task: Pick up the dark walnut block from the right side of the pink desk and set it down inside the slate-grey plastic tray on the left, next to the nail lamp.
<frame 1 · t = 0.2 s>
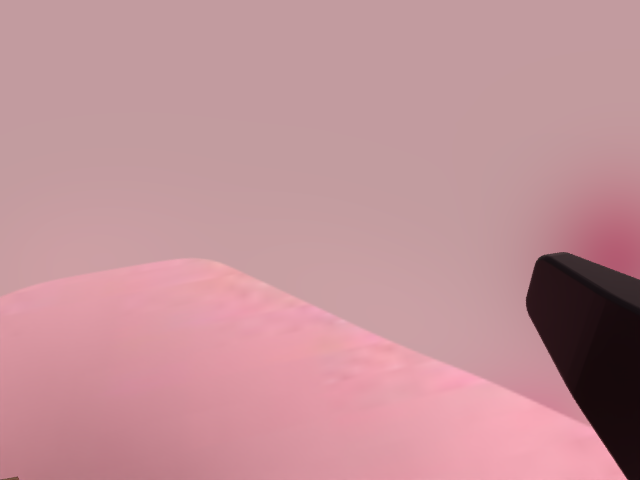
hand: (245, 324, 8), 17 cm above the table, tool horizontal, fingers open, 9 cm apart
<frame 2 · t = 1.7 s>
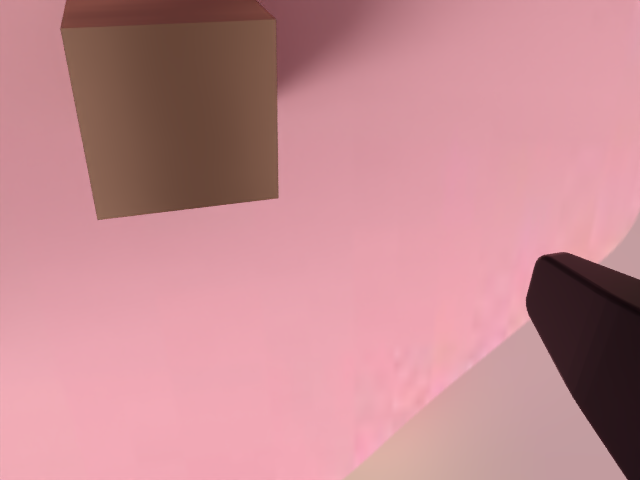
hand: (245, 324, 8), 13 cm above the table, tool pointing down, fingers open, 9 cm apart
walnut block: (161, 55, 19), on the table
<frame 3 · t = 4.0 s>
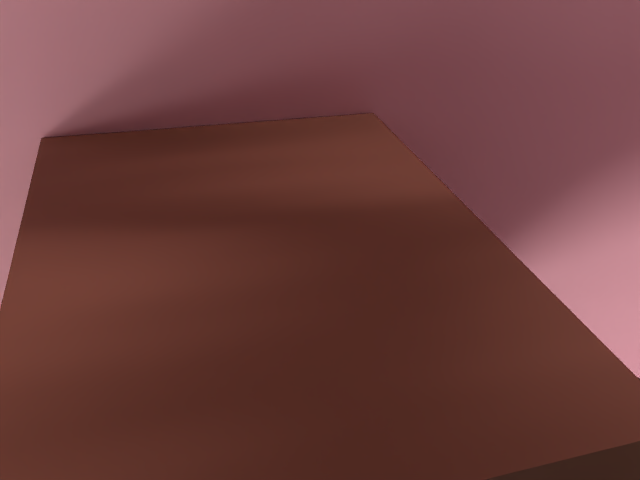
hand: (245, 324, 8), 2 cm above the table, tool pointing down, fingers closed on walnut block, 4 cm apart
walnut block: (226, 261, 10), on the table, touching gripper
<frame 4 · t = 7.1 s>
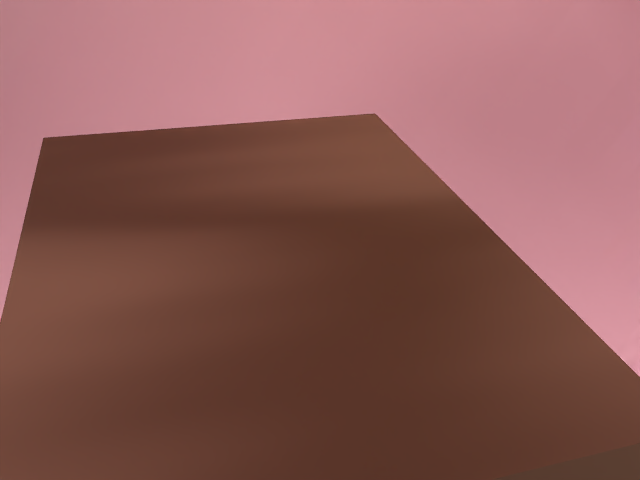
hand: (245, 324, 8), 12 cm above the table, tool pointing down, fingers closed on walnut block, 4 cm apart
walnut block: (228, 261, 10), point 10 cm above the table, touching gripper
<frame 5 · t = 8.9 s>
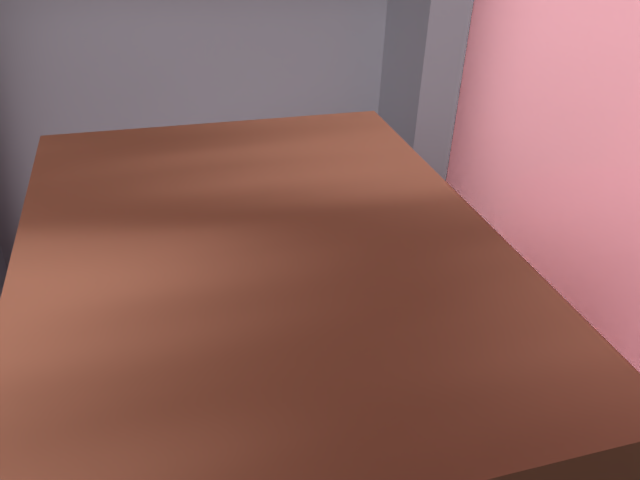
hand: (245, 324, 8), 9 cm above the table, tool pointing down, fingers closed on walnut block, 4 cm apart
tray: (187, 104, 16), on the table
walnut block: (227, 259, 9), point 7 cm above the table, touching gripper
when the fingers open (3 cm above the table, at t = 10.6 s): walnut block drops 1 cm, resting on tray.
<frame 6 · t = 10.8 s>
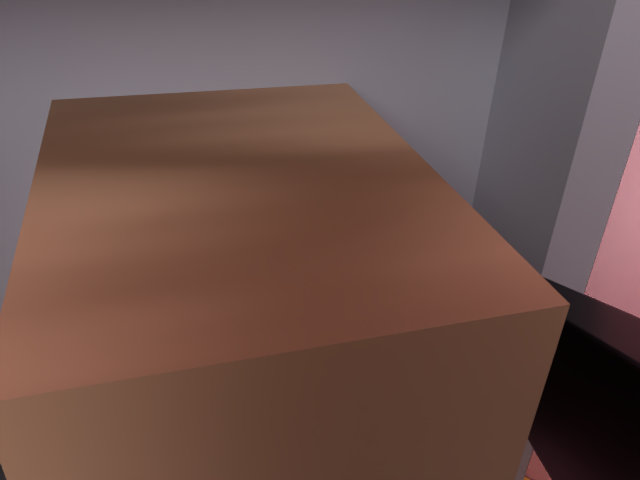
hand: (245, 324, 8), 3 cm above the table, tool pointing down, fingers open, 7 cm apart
tray: (212, 203, 11), on the table
walnut block: (216, 217, 11), point 1 cm above the table, touching tray
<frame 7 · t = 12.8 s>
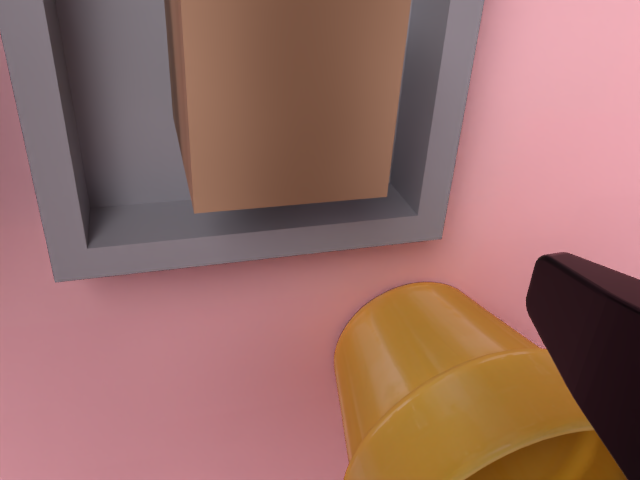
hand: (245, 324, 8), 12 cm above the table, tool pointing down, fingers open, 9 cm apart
plant pot: (405, 336, 27), on the table
tray: (244, 35, 18), on the table
walnut block: (247, 38, 18), point 1 cm above the table, touching tray
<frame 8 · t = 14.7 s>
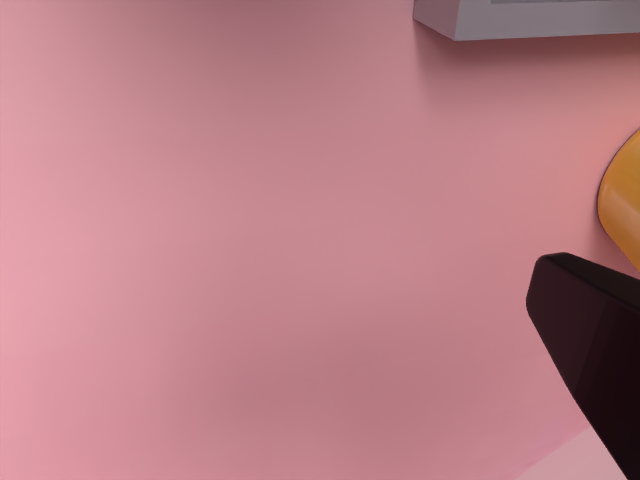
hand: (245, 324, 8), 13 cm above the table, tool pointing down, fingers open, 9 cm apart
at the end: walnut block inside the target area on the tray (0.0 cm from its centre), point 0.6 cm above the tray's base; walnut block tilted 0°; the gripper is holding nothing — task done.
